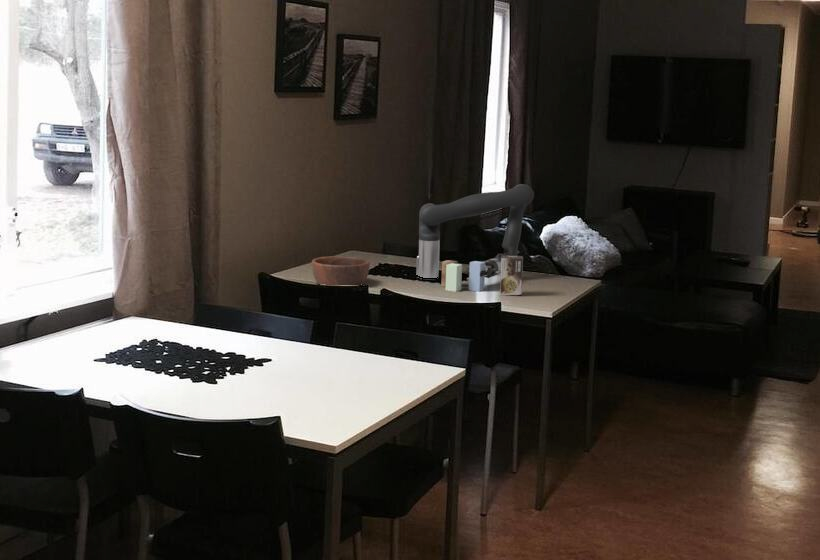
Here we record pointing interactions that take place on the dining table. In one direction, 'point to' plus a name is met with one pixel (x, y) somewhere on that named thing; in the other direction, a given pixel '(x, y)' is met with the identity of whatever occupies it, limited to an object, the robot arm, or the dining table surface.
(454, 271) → the sage block
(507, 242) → the robot arm
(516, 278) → the coffee box
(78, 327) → the dining table surface
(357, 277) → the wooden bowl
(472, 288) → the slate block
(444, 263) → the walnut block
